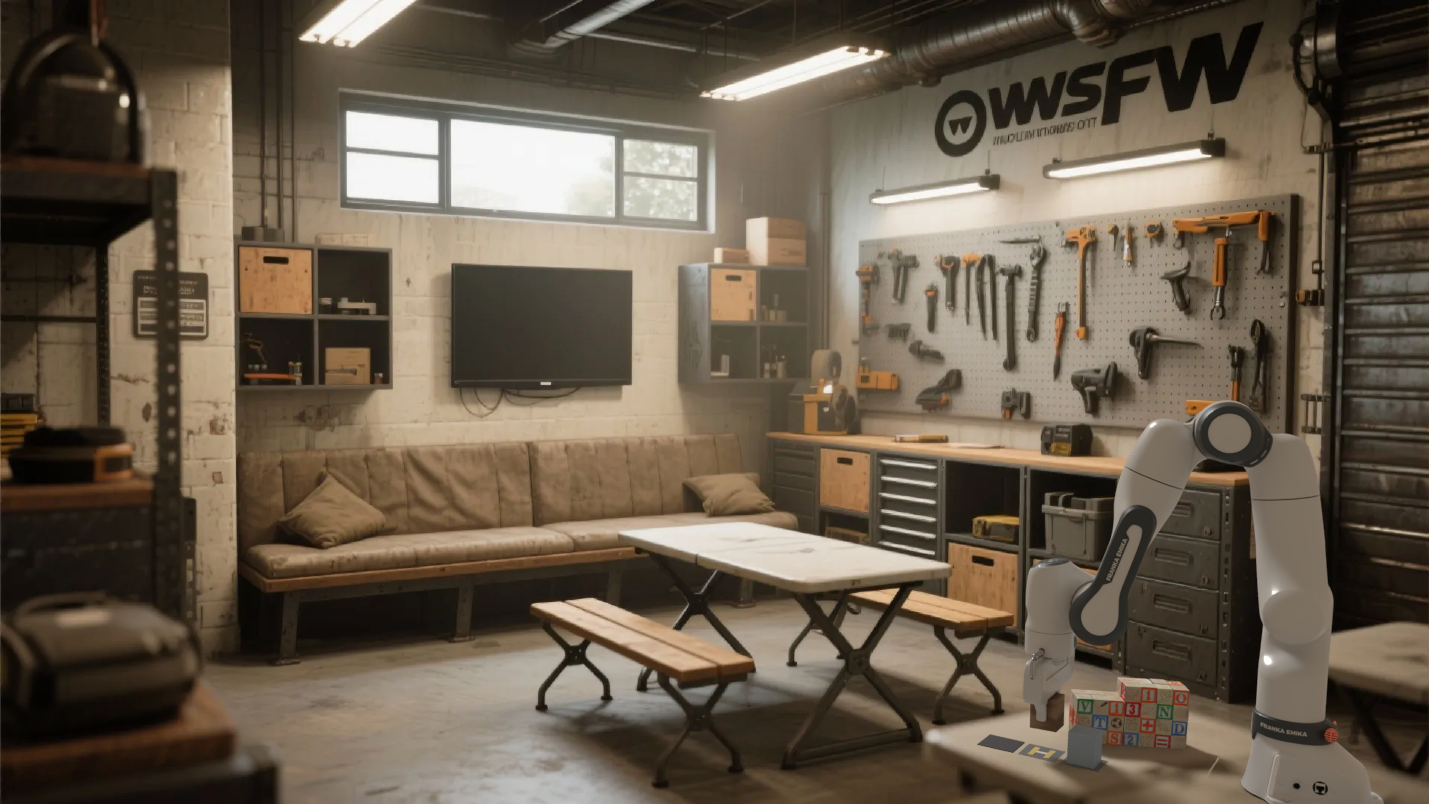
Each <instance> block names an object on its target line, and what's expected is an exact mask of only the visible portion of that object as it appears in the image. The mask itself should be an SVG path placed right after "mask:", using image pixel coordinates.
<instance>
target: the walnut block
mask: <svg viewBox="0 0 1429 804" xmlns="http://www.w3.org/2000/svg"><path fill="white" fill-rule="evenodd" d="M1065 695H1066V694H1065V693H1061V694H1060V693H1055V694H1054V695H1053V696H1051V697H1050V698H1049V699H1048V700H1047V704H1046V708H1047V711H1048V719H1047V720H1046V721H1044V722H1042V721H1038V720H1037V719H1036V709H1035V706H1034V704H1030V703H1029V705H1030V706H1029V728H1030V729H1035V730H1037V729H1038V730H1042V731H1045V732H1053V733H1058V732H1059V730H1060V729H1062V728H1063V727H1064V725H1065Z"/></svg>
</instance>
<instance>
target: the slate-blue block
mask: <svg viewBox="0 0 1429 804" xmlns="http://www.w3.org/2000/svg"><path fill="white" fill-rule="evenodd" d="M1102 738H1103V730H1101V729H1096V728H1091V727H1087V726H1082V725H1077V724H1076V725H1075V726H1074V727H1073V728H1072V729H1070V730H1069V729H1068V732H1067V749H1066V750H1067V751H1066V753H1067V754H1066V757H1067V763H1069V764H1074V765H1078V766H1082V767H1087V768H1091V769H1094V768H1095V767H1096V766H1097V765H1098V764H1099V763H1100V762H1101V760H1102V755H1103V754H1102V751H1103V744H1102Z"/></svg>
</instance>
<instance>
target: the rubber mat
mask: <svg viewBox="0 0 1429 804" xmlns="http://www.w3.org/2000/svg"><path fill="white" fill-rule="evenodd" d="M1024 743H1025V741H1022V740H1018V739H1014V738H1009V737H1004V736H999V735H994V734H988V735H987V736H986V737H984V738H983V739H982V740H980V741H979V742H978V743H976V744H977V746H982V747H987V748H991V749H995V750H999V751H1002V752H1003V751H1004V752H1008V753H1012V754H1013V753H1014V752H1015V751H1017V750H1018V749H1019V748H1020V747H1021V746H1023V744H1024Z"/></svg>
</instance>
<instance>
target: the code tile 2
mask: <svg viewBox="0 0 1429 804" xmlns="http://www.w3.org/2000/svg"><path fill="white" fill-rule="evenodd" d="M1107 763H1108V760H1105V759H1101V762H1100V763H1099V764H1098V765H1097V766H1096V767H1095V768H1094V769H1091V768H1087V767H1082V766H1078V765H1074V764H1069V763H1067V756H1066V757H1065V758H1063V760H1062V761H1060V763H1059V764H1060V765H1065V766H1069V767H1072V768H1073V767H1074V768H1079V769H1082V770H1085V771H1086V770H1087V771H1091V772H1095V773H1099V772H1100V771H1101V769H1103V767H1104V766H1105V765H1106V764H1107Z"/></svg>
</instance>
